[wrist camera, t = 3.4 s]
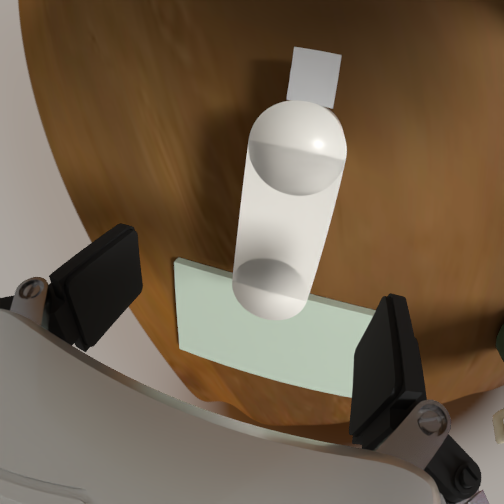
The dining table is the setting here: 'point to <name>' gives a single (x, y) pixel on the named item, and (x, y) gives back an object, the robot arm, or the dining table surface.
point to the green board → (268, 332)
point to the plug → (289, 190)
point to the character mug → (502, 430)
